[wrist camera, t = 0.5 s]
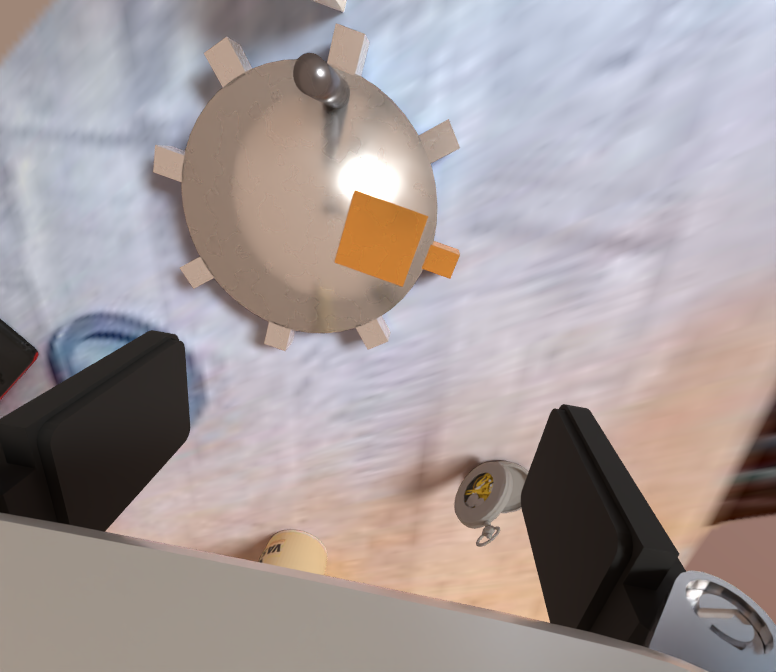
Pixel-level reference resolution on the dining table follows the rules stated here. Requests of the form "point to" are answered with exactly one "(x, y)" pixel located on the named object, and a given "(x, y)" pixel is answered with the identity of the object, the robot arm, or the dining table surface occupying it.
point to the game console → (13, 357)
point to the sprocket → (309, 192)
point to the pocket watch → (489, 495)
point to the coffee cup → (296, 552)
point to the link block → (333, 4)
